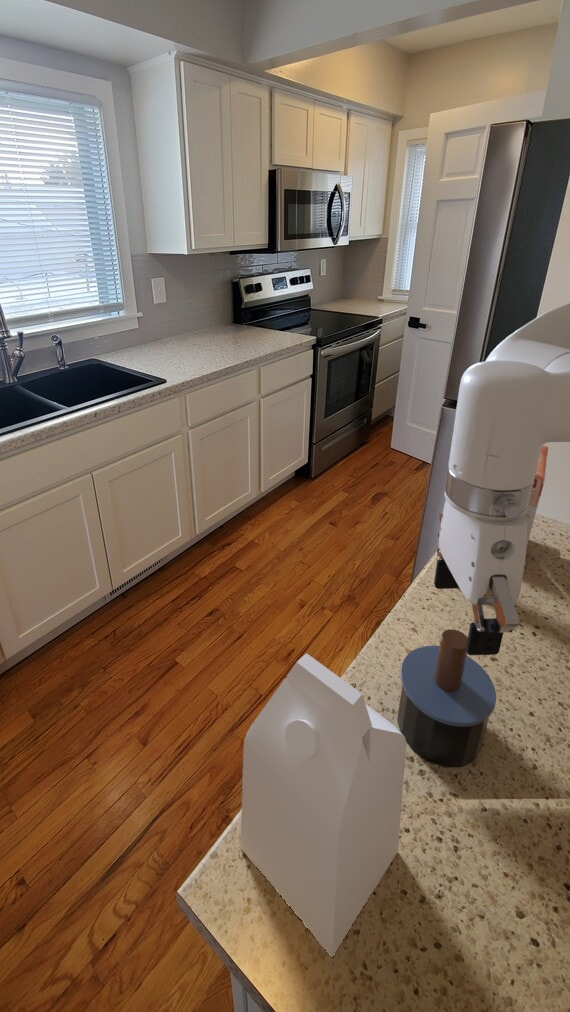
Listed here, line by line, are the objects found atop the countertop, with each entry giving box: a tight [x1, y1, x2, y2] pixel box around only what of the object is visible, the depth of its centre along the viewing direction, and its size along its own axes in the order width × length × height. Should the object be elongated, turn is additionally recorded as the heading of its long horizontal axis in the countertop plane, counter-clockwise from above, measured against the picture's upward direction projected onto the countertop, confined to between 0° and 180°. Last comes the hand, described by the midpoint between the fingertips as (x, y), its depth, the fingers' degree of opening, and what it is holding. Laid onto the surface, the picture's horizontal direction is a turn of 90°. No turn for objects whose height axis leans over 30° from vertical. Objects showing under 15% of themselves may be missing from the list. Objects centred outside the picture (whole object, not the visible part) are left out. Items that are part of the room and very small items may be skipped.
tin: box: [396, 685, 490, 769], centre depth 61 cm, size 10×10×8 cm
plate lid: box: [399, 628, 497, 727], centre depth 58 cm, size 11×11×8 cm
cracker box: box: [524, 445, 549, 544], centre depth 90 cm, size 14×6×21 cm, turn 148°
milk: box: [239, 652, 407, 958], centre depth 46 cm, size 12×12×26 cm
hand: (463, 617), depth 55 cm, fingers open, 9 cm apart
